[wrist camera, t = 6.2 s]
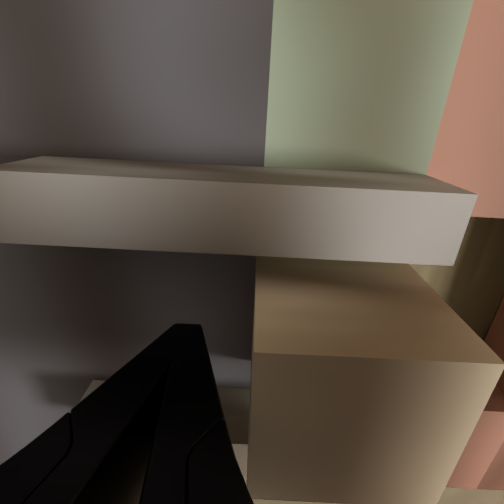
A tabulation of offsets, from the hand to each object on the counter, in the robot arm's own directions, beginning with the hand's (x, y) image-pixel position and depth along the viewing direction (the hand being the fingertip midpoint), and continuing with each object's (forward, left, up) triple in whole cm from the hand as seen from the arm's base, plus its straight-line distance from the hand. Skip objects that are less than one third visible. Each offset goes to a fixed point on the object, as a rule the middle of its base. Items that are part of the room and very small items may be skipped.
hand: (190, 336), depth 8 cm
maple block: (+4, 0, -1) cm, 4 cm away
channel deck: (+2, 0, -4) cm, 4 cm away
